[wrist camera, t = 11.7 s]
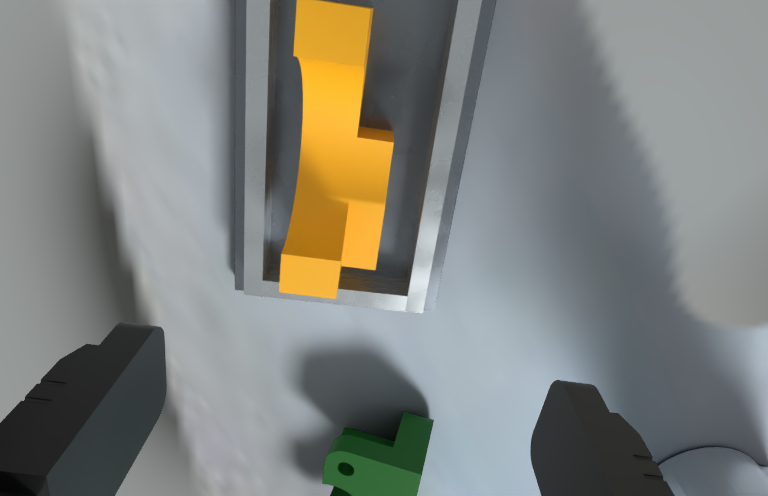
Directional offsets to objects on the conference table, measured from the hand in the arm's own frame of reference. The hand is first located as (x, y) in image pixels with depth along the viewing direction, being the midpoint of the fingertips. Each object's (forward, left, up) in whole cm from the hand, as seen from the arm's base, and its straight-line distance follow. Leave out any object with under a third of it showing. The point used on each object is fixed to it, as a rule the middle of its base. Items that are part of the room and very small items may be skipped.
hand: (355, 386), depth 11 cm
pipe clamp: (+1, -1, -18) cm, 18 cm away
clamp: (-3, +23, -19) cm, 30 cm away
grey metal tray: (+1, -1, -19) cm, 19 cm away
